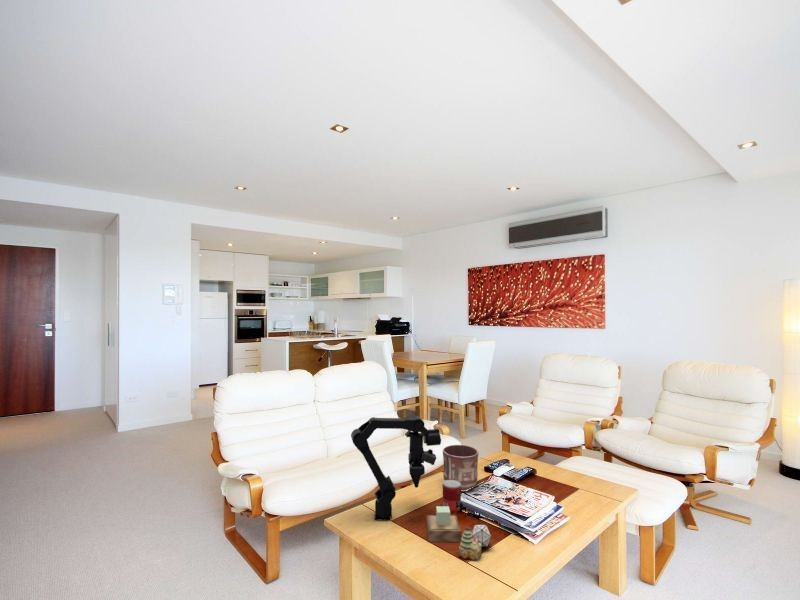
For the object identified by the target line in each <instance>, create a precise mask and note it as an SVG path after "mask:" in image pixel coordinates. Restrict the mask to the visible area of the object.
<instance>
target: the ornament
mask: <svg viewBox="0 0 800 600" xmlns="http://www.w3.org/2000/svg"><path fill="white" fill-rule="evenodd" d="M471 532H472V530H471V528H470V527H469V526H467V527H465V530H463V533H462V536H461V542H459V543H460V544H459V547H458V556H459V558H460V557H461V558H462V559H470V560H471V561H477V560H479V558H481V553H482V547H481V543H479V541H478V539H477V538H473V537H472V534H471Z"/></svg>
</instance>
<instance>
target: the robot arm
mask: <svg viewBox="0 0 800 600" xmlns="http://www.w3.org/2000/svg"><path fill="white" fill-rule="evenodd" d="M379 429H387V430H388V429H393V430H394V429H395V430H397V429H399V430H401V429H403V430H407V431H406V432H405V433H404V435H405V436H406V438H409V453H408V455H407V456H408V457H407V460H408V464H409V467H408V468H409V469H408V471H409V475H410V477H411V481H412V482H413V485H414V487H415V488H418V487H419V485H420V484H419V483H420V480H421V476H424V475H425V473H426V472H425V471H426V469H425V468H426V467H425V465H424V464H425V463H428V464H430V466H431V465H432V466H435V463H436V460H437V455H436V454H435V453H434V451H433V449H430V448H429V449H428V450H425V449H424V444H425V445H426V446H430V447H431V446H432V447H433V446H440V445H441V443H442V437H441V433H440V429H438V428H432V429H427V428H426V427H425V421H424V420H423V419H422V418H421V417H420V416H419V415H417V414H416V415H415V414H414V415H408V416H405V417H402V418H401V417H395V418H394V417H370V418H369V419H368V420H367V421H366V422H364V423H363V424H361V425H360V426H359V427H358V428H355V429H354V430H353V431H351V434H350V438H351V441H352V443H353V446H354V447H356V449H357V450H358V451H359V452H360V453H361V454H362V456H363V458H364V460H365V461H366V463H367V465H368V467H369V469H370V472H372V473H371V474H372V475H373V477H374V478H375V480H376V482H377V485H378V489H377V490H376V491H375V492H374V497H375V502H374V503H375V504H374V521H391V517H392V516H393V515H392V514H393V513H392V511H393V510H392V508H393V506H392V505H393V504H392V501H393V500H394V499H395V498H396V495H397V493H396V490H397V488H396V486H395V484H394V482H393V480H392V479H391V477H390V475H388V476H386V475H385V474H384V472H383V471H382V469H381V467H380V465H379V463H378V462H377V460H376V458H375V455H374V454H373V452H372V450H371V448H370V445H369V441H368V439H369V438H370V437H371V436H372V435H373V433H374V432H375V431H376V430H379Z"/></svg>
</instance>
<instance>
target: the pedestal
mask: <svg viewBox="0 0 800 600" xmlns="http://www.w3.org/2000/svg"><path fill="white" fill-rule="evenodd" d="M426 531H427V537H428V538H427V539H428V542H434V543H437V542H438V543H441V542H443V543H444V542H445V543H447V542H448V543H449V542H450V543H452V542H455V543H461V541H462V540H461V538H462V536H461V535H462V533H461V531H462V530H461V527H460V524H459V520H458V517H457V515H450V525H437V521H436V515H432V514H431V515H428V514H427V515H426Z"/></svg>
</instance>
